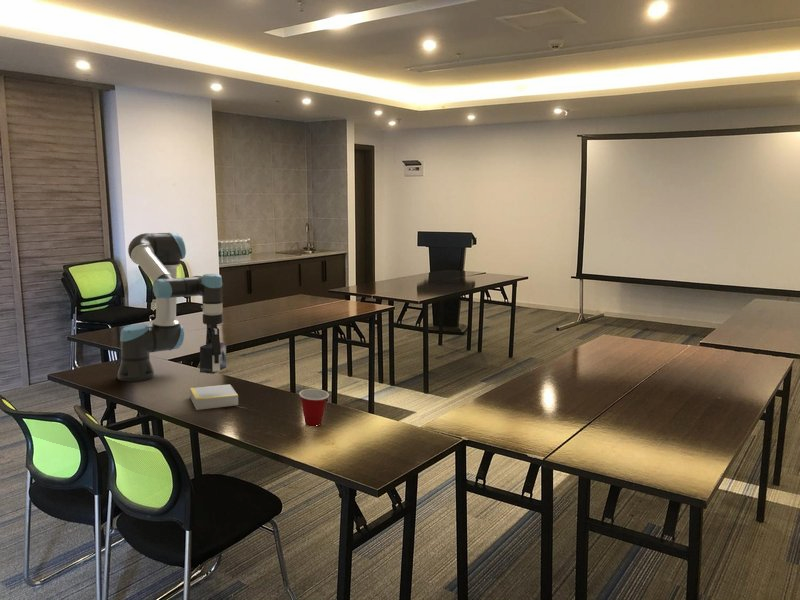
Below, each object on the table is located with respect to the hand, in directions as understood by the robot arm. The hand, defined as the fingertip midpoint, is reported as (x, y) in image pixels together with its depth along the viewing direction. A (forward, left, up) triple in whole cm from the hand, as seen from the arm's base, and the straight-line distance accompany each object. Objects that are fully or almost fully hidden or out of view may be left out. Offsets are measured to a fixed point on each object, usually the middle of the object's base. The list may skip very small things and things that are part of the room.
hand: (213, 367), depth 251 cm
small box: (0, 0, -1) cm, 1 cm away
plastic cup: (+39, +29, -14) cm, 51 cm away
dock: (0, 0, -14) cm, 14 cm away
